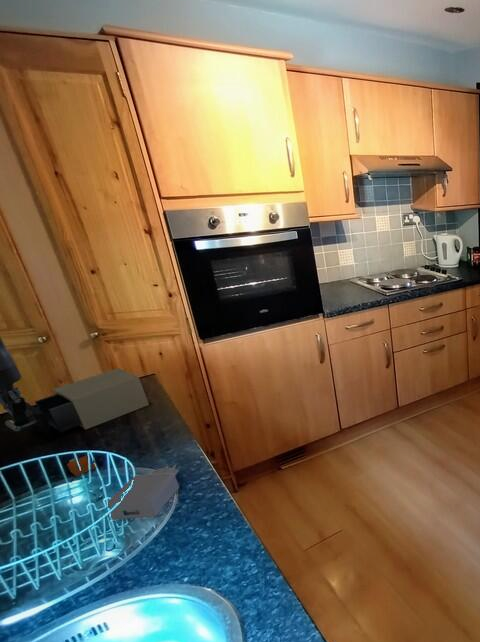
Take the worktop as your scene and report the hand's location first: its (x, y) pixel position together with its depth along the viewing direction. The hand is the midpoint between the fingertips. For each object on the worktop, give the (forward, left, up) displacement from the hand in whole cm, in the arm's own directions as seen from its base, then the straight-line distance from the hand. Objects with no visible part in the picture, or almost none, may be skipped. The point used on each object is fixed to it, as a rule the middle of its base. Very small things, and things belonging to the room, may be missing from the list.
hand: (23, 424), depth 120 cm
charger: (+5, -53, -5) cm, 54 cm away
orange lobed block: (+1, -26, -5) cm, 27 cm away
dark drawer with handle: (+7, 0, -4) cm, 8 cm away
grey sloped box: (+17, 0, -5) cm, 18 cm away
